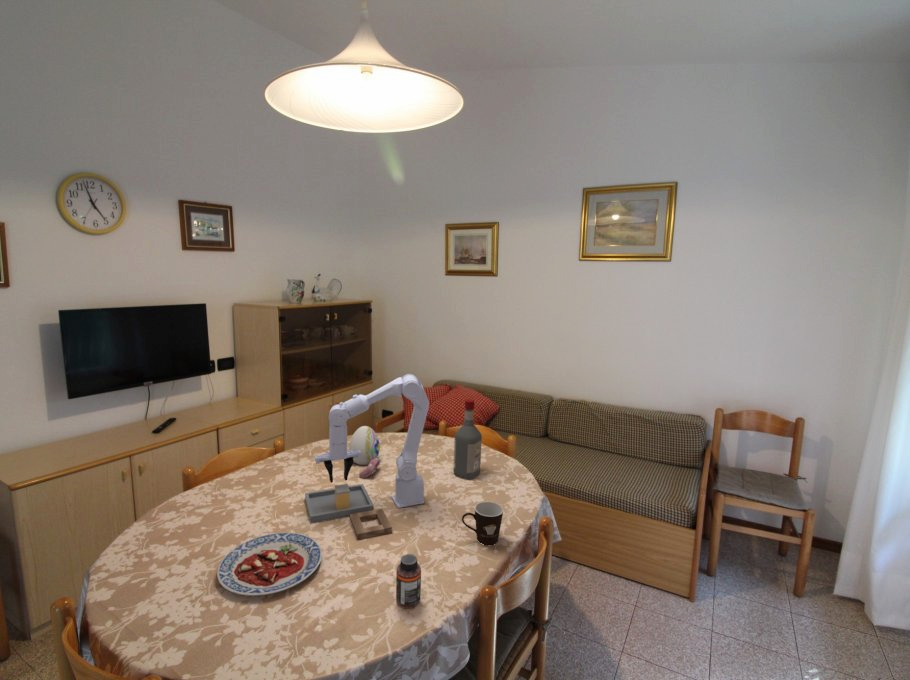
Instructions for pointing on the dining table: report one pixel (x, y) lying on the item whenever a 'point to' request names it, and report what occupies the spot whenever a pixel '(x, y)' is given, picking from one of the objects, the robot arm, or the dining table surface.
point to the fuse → (342, 496)
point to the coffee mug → (487, 522)
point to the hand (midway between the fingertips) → (338, 480)
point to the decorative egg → (365, 445)
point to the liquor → (467, 446)
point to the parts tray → (325, 508)
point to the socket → (372, 531)
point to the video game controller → (370, 468)
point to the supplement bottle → (408, 582)
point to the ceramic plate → (269, 564)
